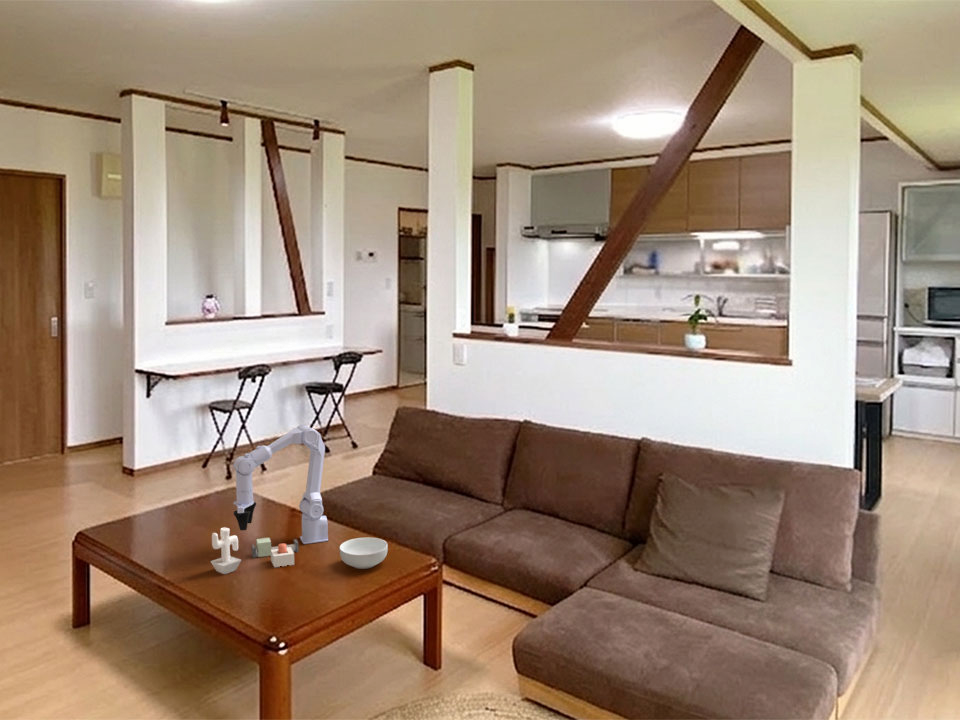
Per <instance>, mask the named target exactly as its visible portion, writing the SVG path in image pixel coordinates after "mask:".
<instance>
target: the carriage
mask: <svg viewBox="0 0 960 720" xmlns="http://www.w3.org/2000/svg"><path fill="white" fill-rule="evenodd" d="M255 541H256V542H255V544H256V545H255V547H256V549H257V550H258V558H262V557H269V556H270V557H271V547H272V540H271V538H270V537H262V538H256V540H255Z"/></svg>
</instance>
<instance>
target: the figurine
mask: <svg viewBox="0 0 960 720" xmlns="http://www.w3.org/2000/svg"><path fill="white" fill-rule="evenodd" d="M219 531H220V534H219V535H218V533H216V532H212V533H211V546H212V548H213V549H214V550H218V549H220V551H221V553H220V555H221V557H219V558H216V559H213V560H211V561H210V563H211V564H212V566H213V568H214V570H215V571H216V572H217V573H220V574H222V575H227V574H230V573H233V572H235V571H237V569H238V567H239V565H240V564H241V561H242V559H240V558H237V557H234V556H231V550H230V549H231V548H230V547H231V546H232V550H233V551H236V552H237V551H238V550H239V538H238V536H237V535H236V534H235V535H230V531H231V530H230V528H229V527H226V526H224V527H221V528H220V529H219ZM219 536H220V539H219Z"/></svg>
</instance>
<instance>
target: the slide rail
mask: <svg viewBox="0 0 960 720" xmlns="http://www.w3.org/2000/svg"><path fill="white" fill-rule="evenodd" d="M288 547H291V548H292V550H293V552H294V553H299V541H298V539H297V538H295V539H293V544H292V543H291V544H286V548H288ZM273 549H278V545H277V546H271V550H273ZM251 556H252V558H253V559H254V558H255V559H256V558H257V557H258V550H257V548H256V545H255V544H251ZM258 558H259V557H258Z"/></svg>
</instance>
